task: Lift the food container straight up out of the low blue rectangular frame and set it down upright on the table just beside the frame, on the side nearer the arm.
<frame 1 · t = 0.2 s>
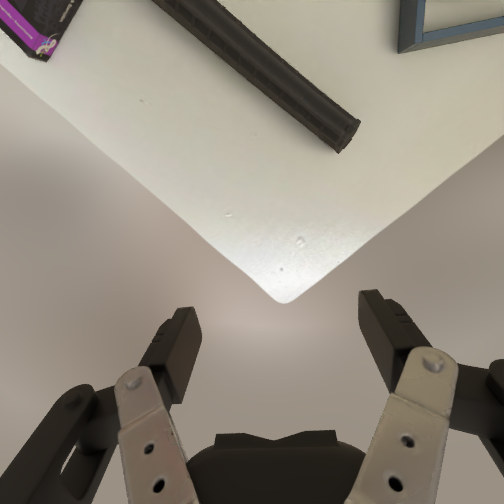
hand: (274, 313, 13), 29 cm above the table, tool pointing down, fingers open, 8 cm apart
magazine: (254, 68, 33), on the table
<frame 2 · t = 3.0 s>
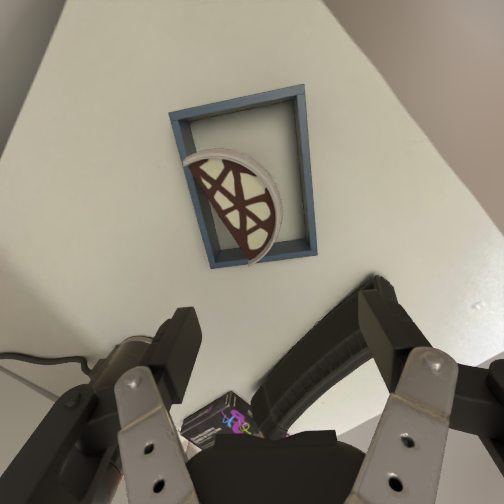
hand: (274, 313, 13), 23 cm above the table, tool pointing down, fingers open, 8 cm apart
magazine: (310, 339, 43), on the table
food container: (252, 184, 33), resting in blue rectangular frame
box: (240, 428, 54), on the table
blue rectangular frame: (252, 184, 33), on the table
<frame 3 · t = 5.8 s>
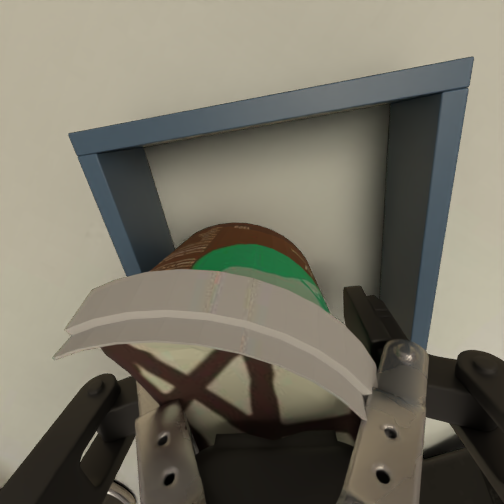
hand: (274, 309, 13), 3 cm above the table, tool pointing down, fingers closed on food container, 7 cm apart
magazine: (359, 492, 26), on the table
food container: (278, 272, 16), resting in blue rectangular frame, touching gripper
blue rectangular frame: (278, 273, 16), on the table
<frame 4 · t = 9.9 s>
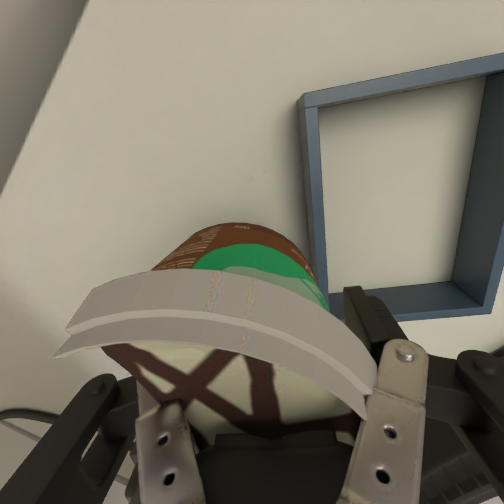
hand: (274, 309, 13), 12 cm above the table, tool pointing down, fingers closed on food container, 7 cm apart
magazine: (421, 404, 32), on the table
food container: (278, 272, 16), point 8 cm above the table, touching gripper
blue rectangular frame: (388, 205, 22), on the table
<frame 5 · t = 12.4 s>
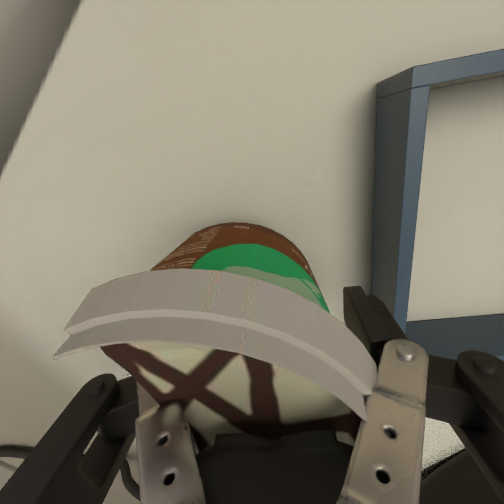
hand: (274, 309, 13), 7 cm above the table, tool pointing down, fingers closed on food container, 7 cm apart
magazine: (482, 447, 28), on the table
food container: (278, 272, 16), point 3 cm above the table, touching gripper
blue rectangular frame: (478, 219, 17), on the table
when the fingers open (3 cm above the table, at t = 14.1 s): food container stays where it is, on the table.
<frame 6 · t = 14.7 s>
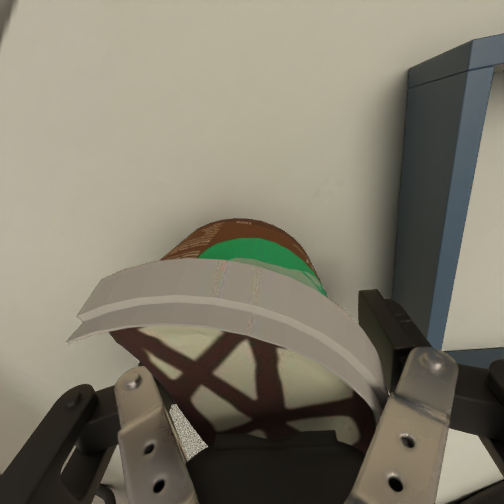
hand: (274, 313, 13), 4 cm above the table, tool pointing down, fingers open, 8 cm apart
food container: (279, 267, 16), on the table
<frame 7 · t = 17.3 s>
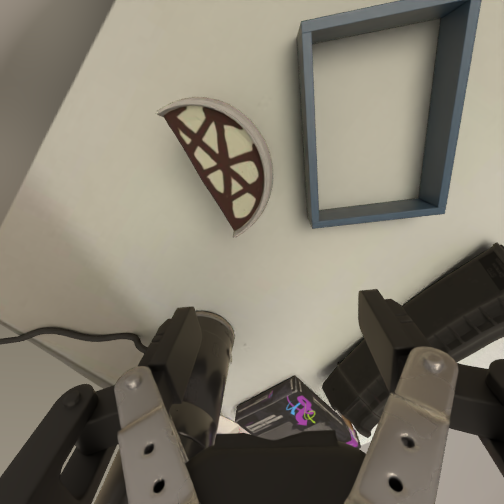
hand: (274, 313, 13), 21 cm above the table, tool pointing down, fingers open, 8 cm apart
magazine: (396, 319, 38), on the table
food container: (242, 151, 30), on the table
white and red cube: (213, 424, 52), on the table
box: (297, 416, 49), on the table
blue rectangular frame: (367, 129, 28), on the table
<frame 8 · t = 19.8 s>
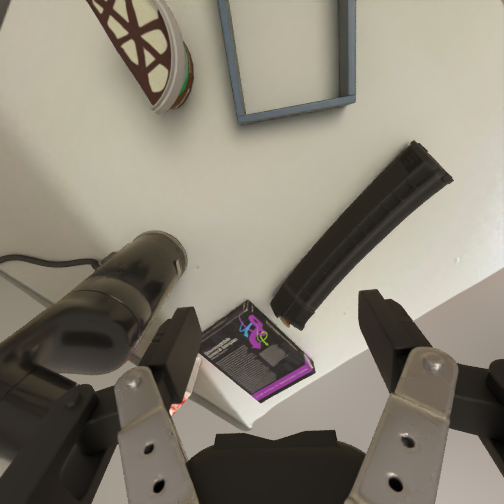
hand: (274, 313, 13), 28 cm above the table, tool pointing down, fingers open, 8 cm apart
magazine: (336, 233, 40), on the table
food container: (175, 56, 32), on the table
white and red cube: (177, 360, 54), on the table
box: (255, 347, 51), on the table
blue rectangular frame: (285, 28, 30), on the table
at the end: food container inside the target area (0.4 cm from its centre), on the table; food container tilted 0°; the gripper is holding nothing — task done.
